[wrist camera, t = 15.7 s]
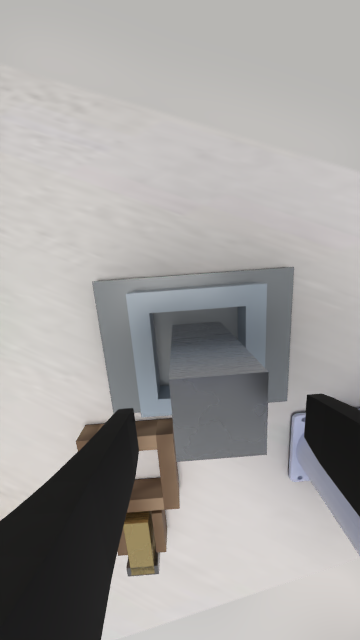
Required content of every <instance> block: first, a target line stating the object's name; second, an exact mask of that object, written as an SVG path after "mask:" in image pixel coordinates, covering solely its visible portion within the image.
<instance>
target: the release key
mask: <svg viewBox="0 0 360 640" xmlns="http://www.w3.org/2000/svg"><path fill="white" fill-rule="evenodd" d="M123 529H124V534H125V540H126V546H127V551H128V562H127V574H128V576H139V575H152V574H159V563H160V552H158V553H157V552H156V544H155V537H154V529H153V521H152V511H141V512H128V513H127V514H126V518H125V522H124V527H123Z"/></svg>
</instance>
